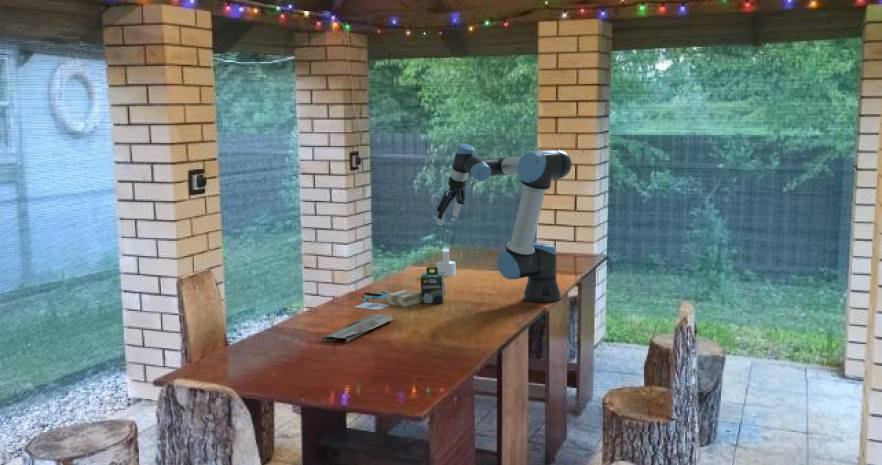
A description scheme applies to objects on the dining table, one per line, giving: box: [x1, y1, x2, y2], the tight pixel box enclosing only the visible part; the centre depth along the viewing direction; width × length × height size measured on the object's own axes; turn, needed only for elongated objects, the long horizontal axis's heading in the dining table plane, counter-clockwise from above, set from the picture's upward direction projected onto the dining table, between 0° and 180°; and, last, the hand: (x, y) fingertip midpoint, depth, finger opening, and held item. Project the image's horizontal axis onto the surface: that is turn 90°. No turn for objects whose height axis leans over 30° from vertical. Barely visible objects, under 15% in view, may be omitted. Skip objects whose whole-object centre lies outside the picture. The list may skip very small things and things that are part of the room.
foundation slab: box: [386, 289, 422, 308], centre depth 351 cm, size 10×10×4 cm
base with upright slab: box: [436, 248, 457, 278], centre depth 408 cm, size 9×9×12 cm
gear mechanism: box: [361, 285, 390, 303], centre depth 365 cm, size 20×5×9 cm
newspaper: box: [321, 313, 395, 344], centre depth 309 cm, size 35×12×4 cm, turn 156°
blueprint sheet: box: [353, 301, 391, 311], centre depth 347 cm, size 12×9×1 cm
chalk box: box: [419, 266, 446, 305], centre depth 352 cm, size 9×9×15 cm
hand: (447, 220), depth 378 cm, fingers open, 13 cm apart
